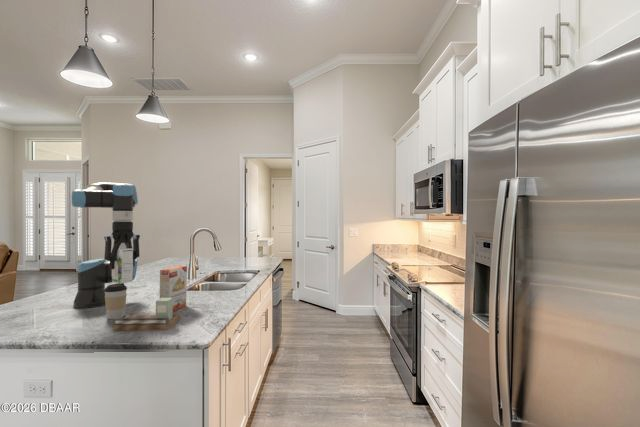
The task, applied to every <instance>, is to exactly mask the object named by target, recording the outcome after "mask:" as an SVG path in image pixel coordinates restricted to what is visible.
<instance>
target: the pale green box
mask: <svg viewBox="0 0 640 427" xmlns="http://www.w3.org/2000/svg"><path fill="white" fill-rule="evenodd" d="M159 298H160V297H159ZM159 298H158V299H156V300H155V315H156V318H169V321H170V320H171V319H172V316H173V314H174V313H173V312H174V311H173V298H160V299H159Z"/></svg>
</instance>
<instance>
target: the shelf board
mask: <svg viewBox="0 0 640 427" xmlns="http://www.w3.org/2000/svg"><path fill="white" fill-rule="evenodd" d="M181 317H182V316H181V313H178V314H174V313H173V316H172V319H171V320H170V321H169V318H156V314H130V315H129V316H127V317H121V318H116V319H112V330H113V331H152V330H153V331H154V330H156V331H157V330H161V331H162V330H163V331H164V330H167V331H168V330H169V329H171V328H172V327H173V326H174V325H175V324H176V323H178V322H179V321H180V320H181Z"/></svg>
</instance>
